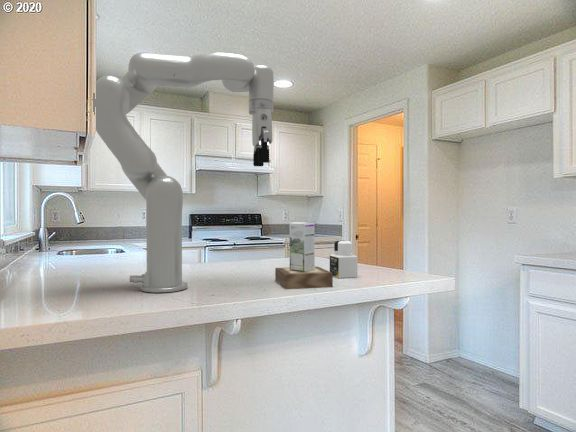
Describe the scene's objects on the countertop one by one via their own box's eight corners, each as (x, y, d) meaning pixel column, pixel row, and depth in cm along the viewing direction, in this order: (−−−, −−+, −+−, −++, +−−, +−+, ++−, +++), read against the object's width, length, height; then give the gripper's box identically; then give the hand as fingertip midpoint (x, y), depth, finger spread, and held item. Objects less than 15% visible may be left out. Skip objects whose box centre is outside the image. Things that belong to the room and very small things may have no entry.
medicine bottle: (329, 275, 134) (329, 240, 134) (348, 274, 136) (348, 239, 136) (338, 278, 127) (338, 241, 127) (357, 277, 129) (357, 241, 129)
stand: (285, 288, 109) (285, 274, 109) (275, 280, 123) (275, 267, 123) (332, 286, 113) (332, 272, 113) (317, 278, 126) (317, 266, 126)
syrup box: (315, 269, 118) (315, 222, 118) (304, 272, 113) (304, 222, 113) (300, 268, 122) (300, 221, 122) (288, 270, 117) (288, 222, 117)
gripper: (279, 101, 112) (278, 161, 112) (268, 116, 129) (267, 167, 129) (253, 99, 110) (252, 160, 110) (245, 114, 127) (245, 167, 127)
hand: (261, 164), depth 120 cm, fingers open, 9 cm apart
